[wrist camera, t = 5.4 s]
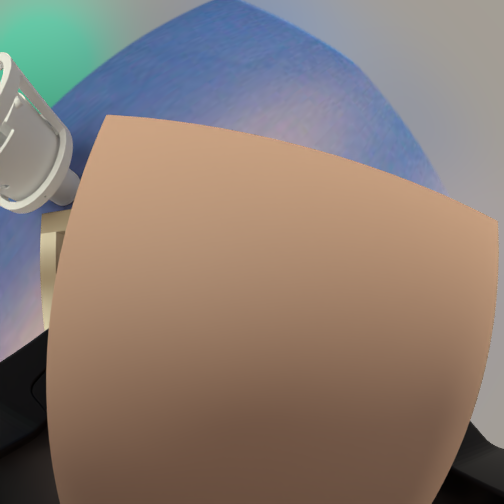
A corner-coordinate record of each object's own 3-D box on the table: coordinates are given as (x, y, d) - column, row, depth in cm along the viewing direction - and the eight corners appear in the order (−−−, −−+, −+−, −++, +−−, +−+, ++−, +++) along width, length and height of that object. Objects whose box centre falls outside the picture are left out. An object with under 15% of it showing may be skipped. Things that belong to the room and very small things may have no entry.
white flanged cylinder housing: (80, 136, 21) (-4, 25, 6) (115, 189, 21) (9, 72, 6) (25, 188, 20) (-84, 116, 5) (54, 246, 20) (-87, 198, 5)
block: (274, 370, 14) (410, 535, 2) (176, 353, 14) (64, 520, 2) (292, 274, 15) (497, 221, 3) (194, 255, 14) (106, 114, 2)
